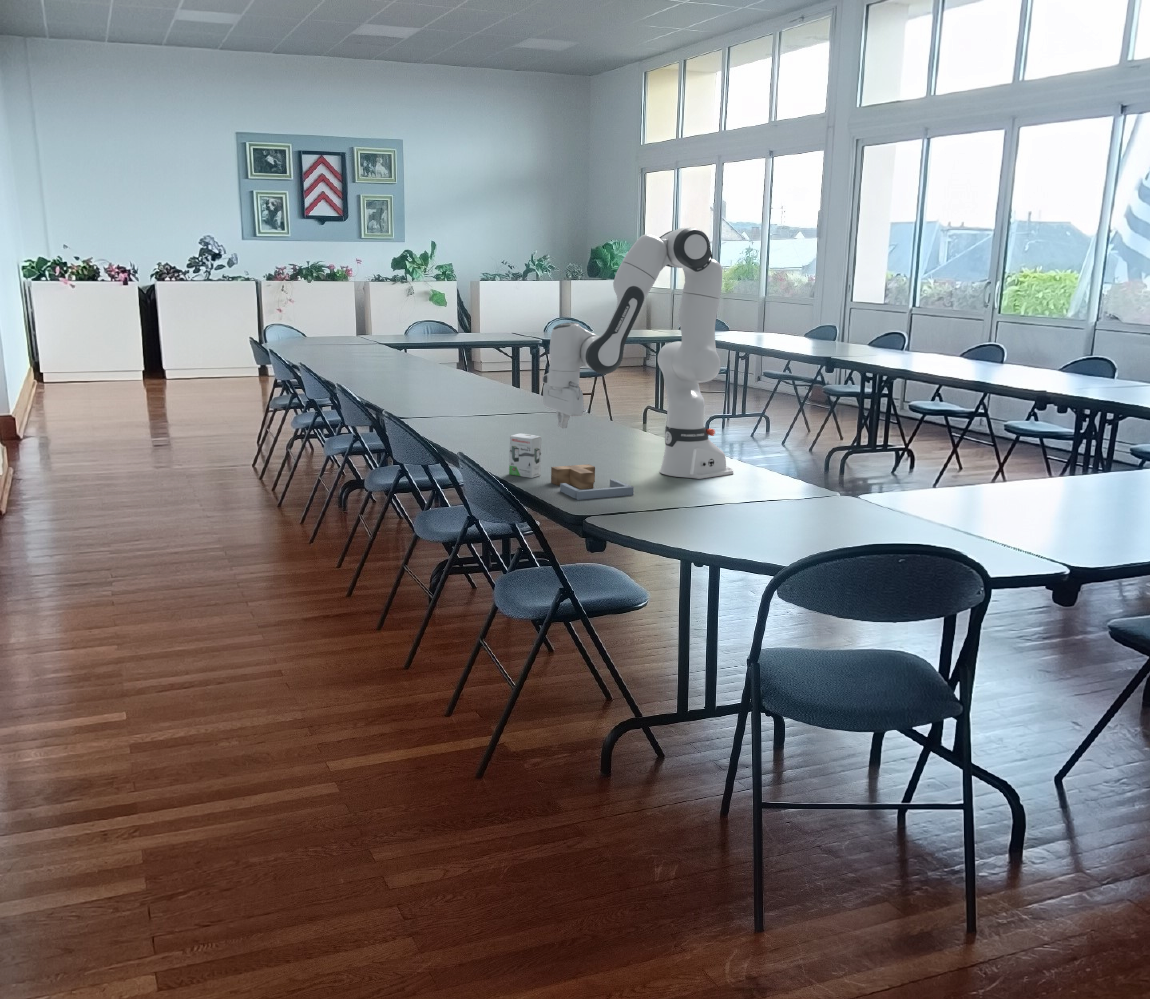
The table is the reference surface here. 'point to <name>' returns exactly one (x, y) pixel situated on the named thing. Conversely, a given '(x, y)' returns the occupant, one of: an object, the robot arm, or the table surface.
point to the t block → (574, 475)
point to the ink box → (525, 455)
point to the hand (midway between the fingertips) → (562, 427)
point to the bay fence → (598, 491)
